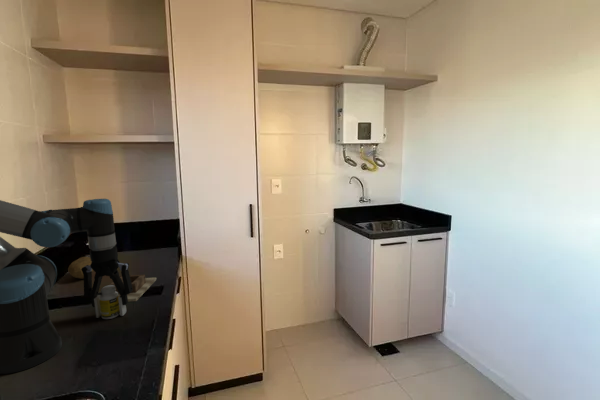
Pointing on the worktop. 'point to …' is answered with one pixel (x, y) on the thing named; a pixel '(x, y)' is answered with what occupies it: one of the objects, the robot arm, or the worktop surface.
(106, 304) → the supplement bottle
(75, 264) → the potato
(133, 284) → the collar board
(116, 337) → the worktop surface
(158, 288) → the worktop surface
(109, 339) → the worktop surface
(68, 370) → the worktop surface
